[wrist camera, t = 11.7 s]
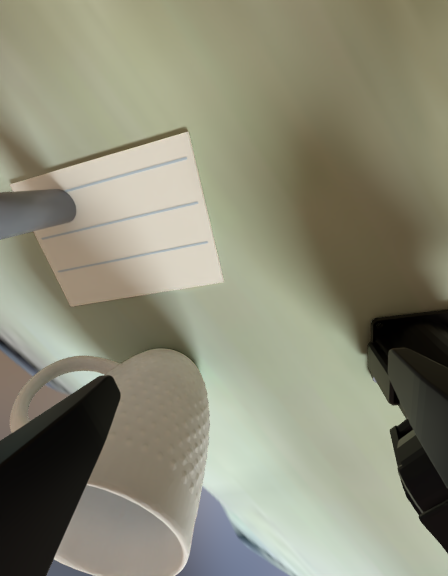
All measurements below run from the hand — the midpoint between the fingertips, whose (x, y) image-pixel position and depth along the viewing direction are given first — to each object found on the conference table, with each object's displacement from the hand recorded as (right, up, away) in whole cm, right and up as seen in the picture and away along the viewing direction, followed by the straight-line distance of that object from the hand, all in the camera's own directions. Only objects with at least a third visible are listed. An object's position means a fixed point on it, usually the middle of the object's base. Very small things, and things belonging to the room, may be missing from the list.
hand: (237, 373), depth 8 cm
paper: (-9, +7, +12) cm, 17 cm away
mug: (-7, -5, +18) cm, 20 cm away
